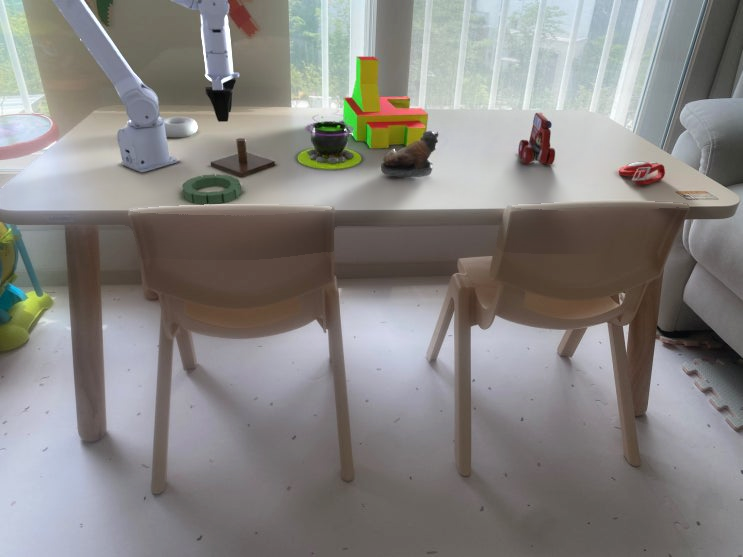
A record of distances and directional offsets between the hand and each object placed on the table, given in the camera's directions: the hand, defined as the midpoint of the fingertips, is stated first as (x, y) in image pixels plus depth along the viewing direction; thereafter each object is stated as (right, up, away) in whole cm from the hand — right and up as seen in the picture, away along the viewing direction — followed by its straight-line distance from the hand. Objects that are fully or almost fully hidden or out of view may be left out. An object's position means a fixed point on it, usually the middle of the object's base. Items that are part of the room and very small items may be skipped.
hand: (224, 116), depth 119 cm
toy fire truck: (+73, -7, +12) cm, 74 cm away
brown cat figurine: (+41, -14, -1) cm, 43 cm away
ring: (+1, -19, -13) cm, 23 cm away
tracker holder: (+94, -14, +3) cm, 95 cm away
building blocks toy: (+37, +3, +26) cm, 45 cm away
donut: (-17, +1, +19) cm, 25 cm away
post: (+4, -11, +1) cm, 12 cm away
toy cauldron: (+23, -8, +7) cm, 25 cm away
